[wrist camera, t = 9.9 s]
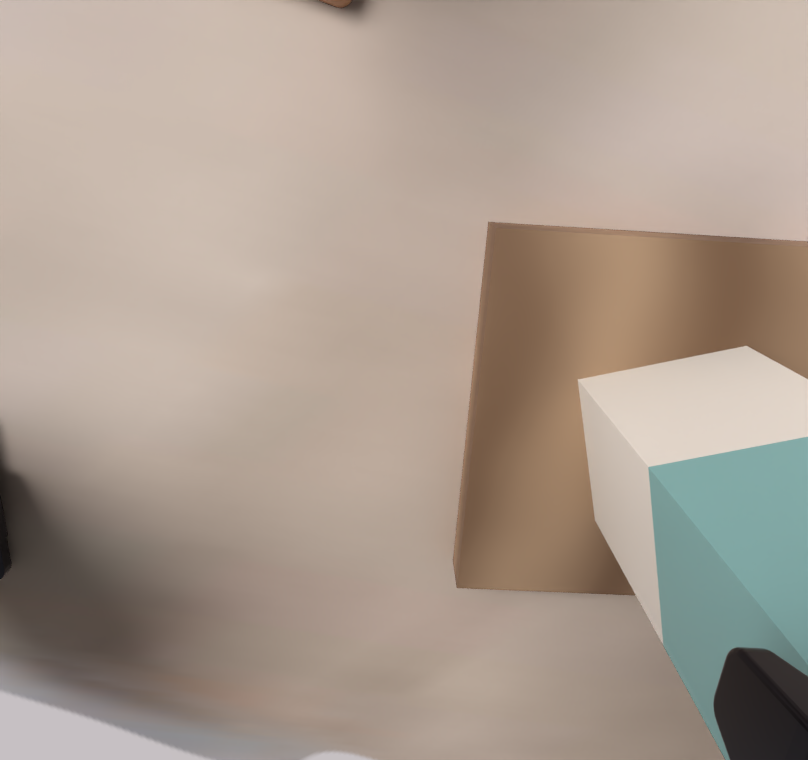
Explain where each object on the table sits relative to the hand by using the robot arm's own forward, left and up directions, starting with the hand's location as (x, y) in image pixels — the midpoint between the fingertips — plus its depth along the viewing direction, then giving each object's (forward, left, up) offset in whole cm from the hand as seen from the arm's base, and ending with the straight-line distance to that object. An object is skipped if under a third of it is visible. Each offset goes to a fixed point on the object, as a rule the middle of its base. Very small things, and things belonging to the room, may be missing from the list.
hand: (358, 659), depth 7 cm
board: (+9, -2, -13) cm, 16 cm away
